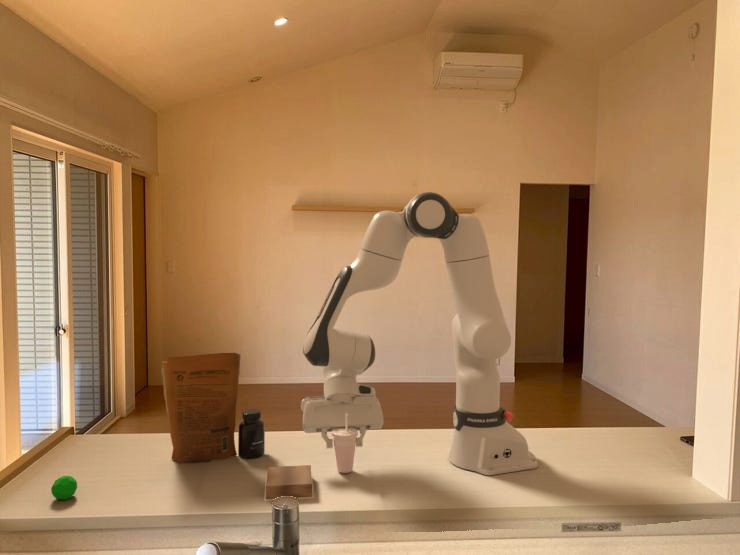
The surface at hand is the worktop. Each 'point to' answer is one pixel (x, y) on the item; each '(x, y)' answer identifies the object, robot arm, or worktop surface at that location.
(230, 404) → the pancake mix bag
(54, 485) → the polyhedron
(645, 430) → the worktop surface
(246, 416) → the supplement bottle
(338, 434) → the smoothie
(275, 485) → the base block
